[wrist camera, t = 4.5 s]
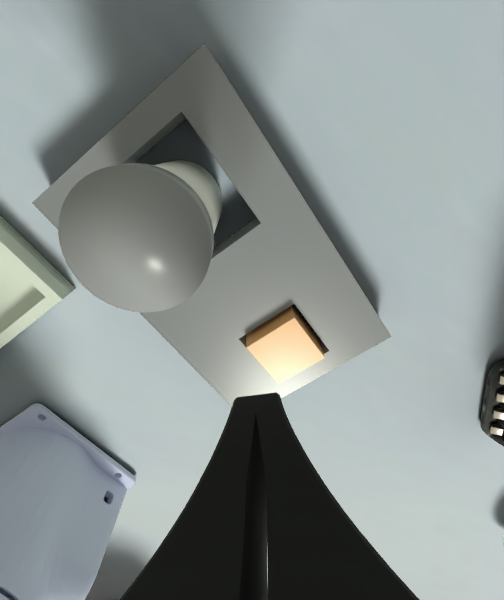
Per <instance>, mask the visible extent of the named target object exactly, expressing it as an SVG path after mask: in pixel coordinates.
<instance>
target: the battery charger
mask: <svg viewBox="0 0 504 600" xmlns="http://www.w3.org/2000/svg"><path fill="white" fill-rule="evenodd" d="M481 428H482V430H483V431H484V432H485V433H486V434H487V435H488V436H489V437H491V438H492V439H494V440H495V441H496V442H498V443H499V444H501V445H503V446H504V360H501V361H499V362H497V363H495V364H494V365H493V366H492V367H491V369H490V371H489V373H488V377H487V383H486V388H485V393H484V399H483V406H482V413H481Z"/></svg>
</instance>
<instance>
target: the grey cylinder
mask: <svg viewBox="0 0 504 600" xmlns="http://www.w3.org/2000/svg"><path fill="white" fill-rule="evenodd" d="M221 212H222V196H221V192H220V189H219V186H218V184H217V182H216V181H215V179H214V178H213V177H212V175H211V174H210V173H209V172H208V171H207V170H205V169H204V168H203V167H201V166H199V165H198V164H195V163H193V162H189V161H184V160H175V161H170V162H165V163H161V164H156V165H149V164H142V163H127V164H121V165H115V166H110V167H105V168H102V169H99V170H96V171H94V172H92V173H90V174H88V175H86V176H85V177H84V178H82V179H81V180H80V181H79V182H78V183H77V184H76V185H75V186H74V187H73V188H72V189H71V191H70V192H69V193H68V195H67V196H66V198H65V201H64V203H63V205H62V208H61V212H60V216H59V223H58V234H59V241H60V246H61V249H62V253H63V255H64V258H65V260H66V262H67V264H68V266H69V268H70V269H71V271H72V273H73V274H74V275H75V277H76V278H77V279H78V280H79V282H80V283H81V284H82V285H83V286H84V287H85V288H86V289H87V290H89V291H90V292H91V293H92V294H93V295H95V296H96V297H98V298H99V299H101V300H103V301H104V302H106V303H108V304H110V305H113V306H115V307H117V308H121V309H124V310H128V311H133V312H144V313H145V312H157V311H163V310H166V309H170V308H172V307H174V306H177V305H179V304H180V303H182V302H184V301H185V300H186V299H188V298H189V297H190V296H191V295H192V294H193V293H194V292H195V291H196V290H197V289H198V288H199V286H200V285H201V283H202V282H203V280H204V278H205V276H206V274H207V271H208V268H209V265H210V261H211V258H212V254H213V249H214V233H215V230H216V227H217V224H218V222H219V219H220V216H221Z"/></svg>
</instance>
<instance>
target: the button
mask: <svg viewBox="0 0 504 600" xmlns="http://www.w3.org/2000/svg"><path fill="white" fill-rule="evenodd" d="M246 348H247V349H248V350H249V351H250V353H251V354H252V355H253V356H254V357H255V358H256V359H257V361H258V362H259V363H260V364H261V365H262V366H263V367H264V369H265V370H266V371H267V372H268V373H269V374H270V376H271V377H272V378H273V379H274V380H275V381H276V382H277V384H280V383H282V382H284V381H285V380H287V379H289V378H291V377H292V376H294V375H296V374H298V373H299V372H301V371H303V370H305V369H306V368H308V367H310V366H312V365H313V364H315V363H317V362H318V361H320V360H322V359H324V358H325V357H324V354H323V351H322V348H321V346H320V343H319V340H318V338H317V336H316V335H315V334H314V332H313V331H312V330H311V328H310V327H309V326H308V324H307V323H306V322H305V320H304V319H303V318H302V316H301V315H300V314H299V312H298V311H297V310H296V308H295V307H294V306H293V305H291V306H290V307H288V308H287V309H285V310H284V311H282V312H280V313H279V314H277V315H276V316H274V317H273V318H271V319H269V320H268V321H266V322H265V323H263V324H261V325H260V326H258V327H257V328H255V329H254V330H252V331H250V332H249V333H247V334H246Z"/></svg>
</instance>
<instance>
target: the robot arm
mask: <svg viewBox="0 0 504 600" xmlns="http://www.w3.org/2000/svg"><path fill="white" fill-rule="evenodd" d="M135 481H136V477H135V476H134V475H133V474H131V473H130V472H129V471H128V470H126V469H125V468H124V467H122V466H121V465H120V464H119V463H117V462H116V461H115V460H113V459H112V458H111V457H109V456H108V455H107V454H106V453H104V452H103V451H102V450H100V449H99V448H98V447H97V446H95V445H94V444H93V443H91V442H90V441H89V440H88V439H86V438H85V437H84V436H82V435H81V434H80V433H78V432H77V431H76V430H75V429H73V428H72V427H71V426H69V425H68V424H67V423H66V422H64V421H63V420H62V419H60V418H59V417H58V416H57V415H55V414H54V413H53V412H51V411H50V410H49V409H47V408H46V407H45V406H44V405H42V404H39V403H35V404H32V405H31V406H30V407H28V408H27V409H25V410H24V411H22V412H21V413H20V414H18V415H17V416H15V417H14V418H13V419H11V420H10V421H8V422H7V423H5V424H4V425H3V426H1V427H0V600H85V598H86V596H87V594H88V593H89V591H90V589H91V587H92V585H93V582H94V580H95V578H96V576H97V573H98V571H99V568H100V565H101V562H102V559H103V556H104V554H105V551H106V548H107V545H108V542H109V539H110V536H111V534H112V531H113V528H114V525H115V522H116V519H117V516H118V513H119V511H120V508H121V505H122V502H123V499H124V496H125V493H126V491H127V489H128V488H130V487H132V486H133V485H134V484H135ZM267 546H268V585H267ZM120 600H419V599H418V598H417V597H416V596H415V594H414V593H413V592H412V591H411V590H410V589H409V588H408V587H407V586H406V584H405V583H404V582H403V581H402V580H401V579H400V578H399V577H398V576H397V575H396V573H395V572H394V571H393V570H392V569H391V568H390V567H389V566H388V564H387V563H386V562H385V561H384V560H383V558H382V557H381V556H380V555H379V554H378V552H377V551H376V550H375V549H374V548H373V546H372V545H371V544H370V543H369V542H368V540H367V539H366V538H365V537H364V536H363V535H362V533H361V532H360V531H359V530H358V528H357V527H356V526H355V525H354V523H353V522H352V521H351V519H350V518H349V517H348V515H347V514H346V513H345V512H344V510H343V509H342V508H341V506H340V505H339V503H338V502H337V501H336V499H335V498H334V496H333V495H332V494H331V492H330V491H329V489H328V488H327V486H326V485H325V484H324V482H323V480H322V479H321V477H320V476H319V474H318V473H317V471H316V470H315V468H314V466H313V465H312V463H311V462H310V460H309V458H308V457H307V455H306V453H305V451H304V450H303V448H302V446H301V444H300V442H299V440H298V439H297V437H296V435H295V433H294V431H293V429H292V427H291V425H290V422H289V420H288V418H287V416H286V413H285V411H284V408H283V405H282V401H281V397H280V395H279V394H278V393H276V392H275V393H267V394H259V395H251V396H243V397H237V398H236V399H235V400H234V402H233V405H232V408H231V412H230V414H229V417H228V420H227V423H226V425H225V428H224V430H223V433H222V435H221V437H220V440H219V442H218V444H217V446H216V449H215V451H214V453H213V455H212V457H211V460H210V462H209V464H208V466H207V467H206V469H205V471H204V473H203V475H202V477H201V479H200V481H199V483H198V485H197V487H196V489H195V490H194V492H193V494H192V496H191V497H190V499H189V501H188V503H187V504H186V506H185V508H184V509H183V511H182V513H181V514H180V516H179V517H178V519H177V521H176V522H175V524H174V525H173V527H172V528H171V530H170V531H169V533H168V534H167V536H166V537H165V539H164V540H163V542H162V543H161V545H160V546H159V548H158V549H157V551H156V552H155V554H154V555H153V557H152V558H151V559H150V561H149V562H148V564H147V565H146V566H145V568H144V569H143V570H142V572H141V573H140V574H139V576H138V577H137V578H136V580H135V581H134V582H133V583H132V585H131V586H130V587H129V589H128V590H127V591H126V593H125V594H124V595H123V597H122V598H121V599H120Z"/></svg>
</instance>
